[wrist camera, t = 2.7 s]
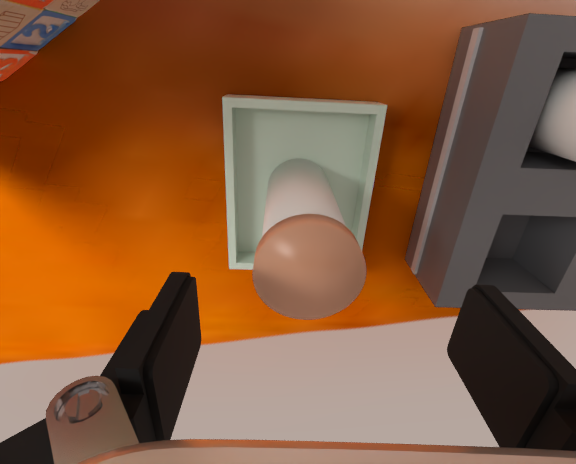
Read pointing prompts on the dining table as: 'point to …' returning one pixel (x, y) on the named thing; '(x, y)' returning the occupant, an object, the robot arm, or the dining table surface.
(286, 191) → the plug
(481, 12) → the dining table surface
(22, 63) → the stack of blocks
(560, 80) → the grey capped white peg
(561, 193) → the socket strip
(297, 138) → the tray
